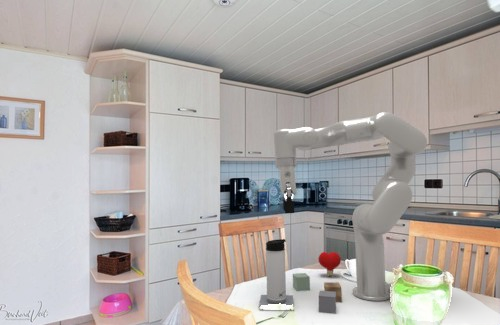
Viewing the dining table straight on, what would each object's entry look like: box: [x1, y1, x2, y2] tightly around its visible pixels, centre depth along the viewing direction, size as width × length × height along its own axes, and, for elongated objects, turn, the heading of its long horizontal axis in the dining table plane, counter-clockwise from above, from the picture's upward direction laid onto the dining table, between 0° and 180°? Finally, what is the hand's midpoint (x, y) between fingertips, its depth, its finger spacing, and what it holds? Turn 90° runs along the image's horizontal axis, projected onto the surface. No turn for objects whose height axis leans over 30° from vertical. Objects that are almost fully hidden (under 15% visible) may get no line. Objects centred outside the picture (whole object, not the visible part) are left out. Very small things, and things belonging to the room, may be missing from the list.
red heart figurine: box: [318, 251, 342, 277], centre depth 135 cm, size 9×7×10 cm
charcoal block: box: [318, 290, 337, 315], centre depth 100 cm, size 5×5×5 cm
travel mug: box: [265, 238, 287, 304], centre depth 106 cm, size 6×7×20 cm
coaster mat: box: [258, 294, 295, 307], centre depth 105 cm, size 11×11×1 cm
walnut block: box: [323, 281, 343, 303], centre depth 108 cm, size 5×5×5 cm
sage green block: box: [292, 272, 311, 292], centre depth 120 cm, size 5×5×5 cm
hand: (288, 211), depth 114 cm, fingers open, 9 cm apart
